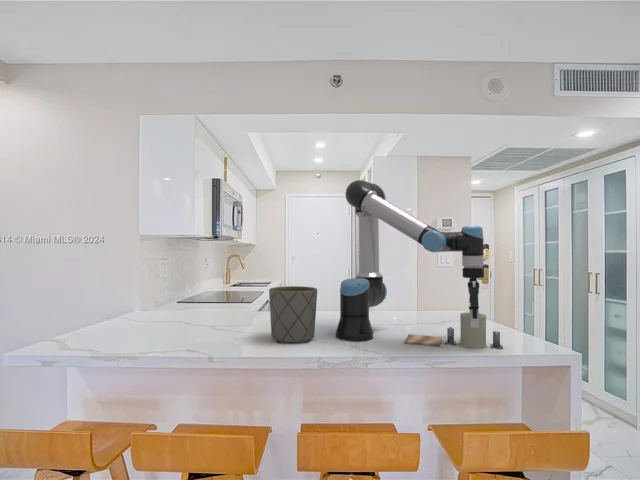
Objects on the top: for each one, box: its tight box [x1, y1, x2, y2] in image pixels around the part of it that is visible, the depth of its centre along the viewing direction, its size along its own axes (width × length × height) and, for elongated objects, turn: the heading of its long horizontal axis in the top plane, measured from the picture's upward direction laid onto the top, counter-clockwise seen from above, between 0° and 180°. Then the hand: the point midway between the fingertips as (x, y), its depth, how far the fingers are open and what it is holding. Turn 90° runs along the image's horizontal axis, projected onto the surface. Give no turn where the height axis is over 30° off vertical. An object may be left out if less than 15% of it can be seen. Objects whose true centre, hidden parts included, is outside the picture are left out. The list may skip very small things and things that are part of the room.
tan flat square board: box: [404, 333, 443, 348], centre depth 151 cm, size 13×13×1 cm
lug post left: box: [444, 326, 457, 346], centre depth 148 cm, size 4×5×6 cm
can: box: [459, 312, 487, 350], centre depth 145 cm, size 9×9×12 cm
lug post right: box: [489, 330, 504, 350], centre depth 142 cm, size 4×5×6 cm
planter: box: [268, 285, 318, 344], centre depth 154 cm, size 19×19×20 cm
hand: (474, 324), depth 145 cm, fingers open, 13 cm apart
